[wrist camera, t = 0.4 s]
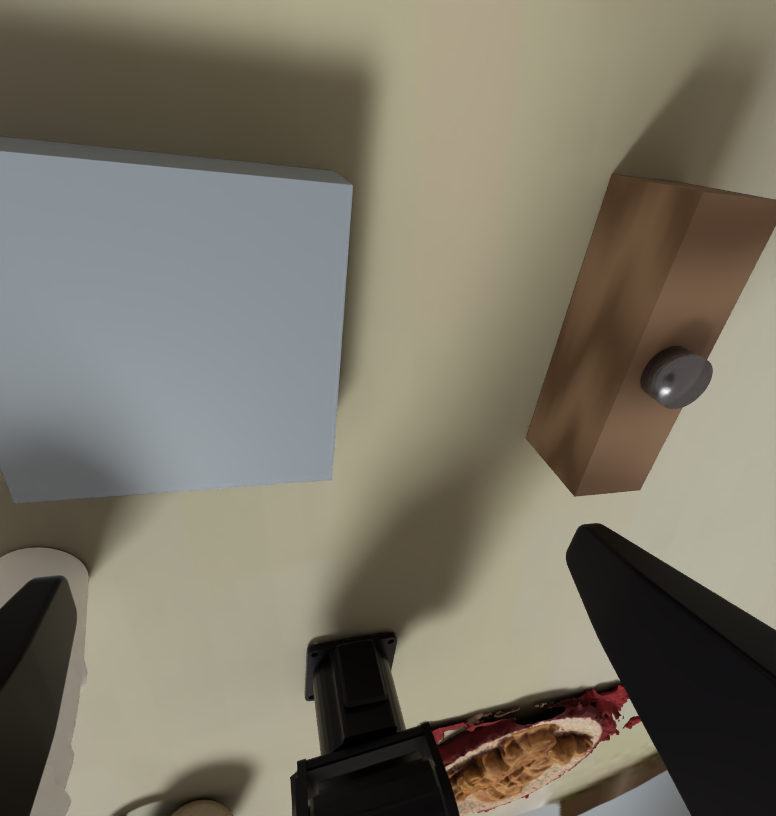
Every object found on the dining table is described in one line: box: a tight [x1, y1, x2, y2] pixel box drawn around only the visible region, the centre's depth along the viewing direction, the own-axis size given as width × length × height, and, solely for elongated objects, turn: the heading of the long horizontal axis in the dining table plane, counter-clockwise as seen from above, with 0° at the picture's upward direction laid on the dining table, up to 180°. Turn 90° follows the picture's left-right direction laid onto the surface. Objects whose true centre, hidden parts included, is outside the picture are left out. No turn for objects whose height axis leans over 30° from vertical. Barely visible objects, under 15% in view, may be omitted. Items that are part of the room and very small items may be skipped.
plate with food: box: [432, 685, 641, 816], centre depth 53 cm, size 24×26×3 cm
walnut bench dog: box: [526, 174, 776, 497], centre depth 22 cm, size 14×4×6 cm, turn 173°
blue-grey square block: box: [0, 136, 353, 504], centre depth 18 cm, size 12×12×4 cm
